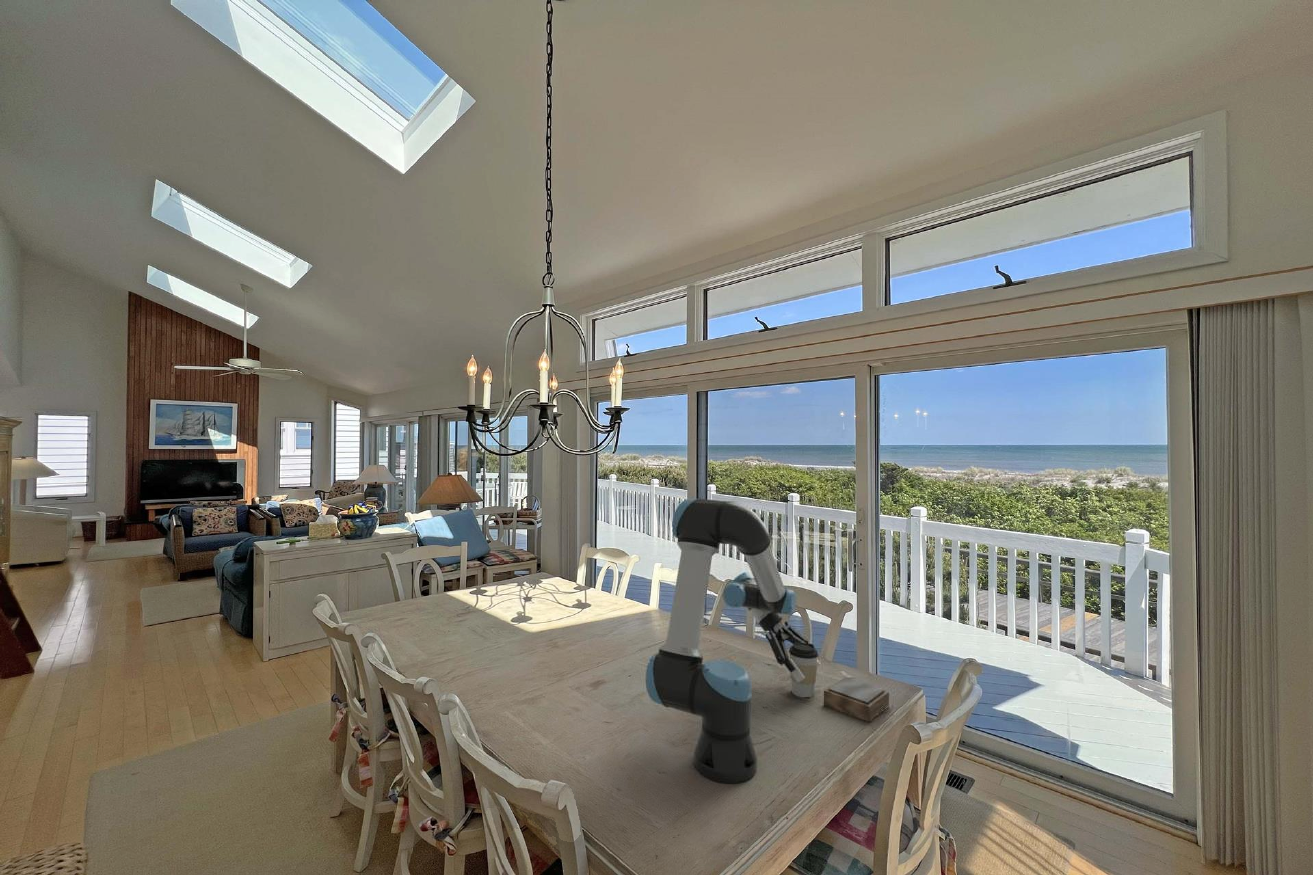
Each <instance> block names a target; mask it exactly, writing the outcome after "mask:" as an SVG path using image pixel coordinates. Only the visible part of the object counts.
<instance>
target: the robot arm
mask: <svg viewBox="0 0 1313 875" xmlns="http://www.w3.org/2000/svg"><path fill="white" fill-rule="evenodd" d="M671 522H672V523H671V528H672V534H673V536H674V537H675V538H676V539H677V542H676V545H677V546H678V547H679V549H680V551H681V552H680V557H679V563H678V569H677V576H676V582H675V587H674V594H673V600H672V606H671V611H670V617H669V624H668V627H667V628H668V630H667V634H666V635H667V636H666V641H665V642H664V643H663V644H662V645H660V646H659V650H658V652H657V653H655V654H653V655H652V656H651V657H650V659H649V662H648V663H647V666H646V670H645V687H646V688H645V689H646V692H647V694H648V696H649V698H650V699H651V700H652V701H653V702H654V703H657V704H659V705H662V706H663V707H665V708H671V709H675V710H678V711H680V712H681V711H682V712H684V713H687V714H691V715H695V716H698V717H701V731H700V734H699V737H698V740H697V743H696V745H695V748H694V752H693V753H694V754H693V764H694V767H695V769H696V771H697V772H698V773H699V774H700V775H701V776H703V777H705V778H706V779H708V780H711V781H714V782H717V783H722V784H723V783H724V784H738V783H743V782H746V781H748V780H750V779H751V778H753V777H754V775H756V773H757V770H758V769H757V768H758V764H757V763H758V758H757V754H756V751H755V750H756V749H755V746H754V743H753V740H752V736H751V708H752V707H751V706H752V705H751V704H752V702H751V700H752V687H751V682H752V681H751V677H750V674H749V673H748V672H747V671H746V669H745V668H744V667H743V666H741V665H739V664H737V663H735V662H733V661H731V660H726V659H716V658H715V659H710V660H707V661H706V662H705V663H704V664H703V662H704V661H703V660H704V655H703V653H702V652H701V650H700V641H701V633H702V628H703V627H702V626H703V622H704V621H703V620H704V614H705V606H706V602H707V601H706V600H707V596H708V595H707V593H708V586H709V581H710V580H709V579H710V574H711V568H712V562H713V561H712V560H713V556H714V555H715V554H717V553H718V552H719V550H720V544H721V545H722V544H723V545H731V546H734V547H737V550H738V551H739V552H740V553H741V554H742V555H744V558H745V560H746V562H747V565H748V566H749V567H748V568H749V570H750V571H751V574H752V576H751V574H750V573H748V572H742V573H740V574H739V575H737V576H736V577H734V578H733V580H732V581H731V582H730V583H729V584H727V585H726V586H725V587H724V589H723V592H722V598H723V602H725V603H726V605H727V606H728V607H731V608H736V609H737V608H740V607H741V608H746V609H747V610H748V611H749V613H751V615H752V617H754V619H755V620H756V621H758V625H759V626H760V627H761V629H762V630H763V631H764V632H765V633H766V632H767V633H766V634H765V635H764V636H765V638H766V639H767V641H768V642H769V644H770V647H771V650H772V652H773V654H774V657H775V660H776V661H777V664H779V665H781V666H783V665H785V667H786V668H787V670H788V671H789V673H790V672H791V674H792V675H793V677H794V678H795V679H796V681H797V682H800V681H801V680H802V679H804V678H805V677H804V675H803V674H802V672H801V671H800V670H799V668H798V667H797V666H796V664H795V663H794V662H793V660H792V659H790V656H789V654H788V653H789V652H788V651H787V646H786V643H785V642H786V641H788V642H789V643H791V644H792V645H793V644H795V643H807V644H810V643H809V640H808V639H806V637H804V636H803V635H802V634H801V633H800V632H799V631H797V630H796V629H795V628H794V627H793V626H792V625H791V624H790V623H789V622H788V621H785V622H782V620H783V616H782V614H783V615H792V614H794V612H795V610H796V606H797V595H796V592H795V591H794V590H793V589H789V588H786V587H785V585H784V583H783V580H782V577H781V574H780V572H779V568H778V565H777V564H776V560H775V558H774V555H773V552H772V550H771V546H770V545H771V539H772V538H771V535H770V532H769V529H768V528H767V526H766V525H765V523H764V522H763V520H762V519H761V518H760V516H758V515H757V513H755V512H754V511H753V510H752V509H750V508H749V507H748V506H746V505H745V504H742V503H740V502H736V501H732V500H718V499H717V500H716V499H706V498H686V499H684V500H683V501H681V502H680V503H679V504H678V506H676V509H675V511H674V513H673V516H672V521H671ZM821 664H822V663H821V662H820V661H819V659H818V658H817V667H818V666H820V665H821Z"/></svg>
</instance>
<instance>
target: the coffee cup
mask: <svg viewBox="0 0 1313 875" xmlns="http://www.w3.org/2000/svg"><path fill="white" fill-rule="evenodd" d="M788 653H789V660H790V659H792V660H793V662H794V663H795V664H796V666H797V667H798V668H799V670H800V671H801V672H802V674H803V675H804V677H805V678H804V679H802V680H801V681H800V682H797V681H796V679H795V678H794V677H793V675H792V674H791V672H790V671H789V673H790V680H791V681H790V682H791V692H792V694H793V695H795V696H796V697H799V698H803V697H810V698H812V696H813V695H815V688H816V687H815V686H816V682H817V680H816V679H817V670H818V666H817V659H818V657H819V652H818V650H817V649H816V648H815V645H814V644H813V643H809V644H807V643H795V644H792V646H790V648H789V651H788ZM813 697H814V696H813Z"/></svg>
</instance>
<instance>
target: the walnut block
mask: <svg viewBox="0 0 1313 875" xmlns="http://www.w3.org/2000/svg"><path fill="white" fill-rule="evenodd" d="M823 706H826V707H828V708H831V709H833V708H834V710H835V709H836V711H838V710H840V711H839V712H841V713H843V712H845V713H844V714H846V713H847V715H849V714H851V715H853V716H852V717H854V716H856V717H858V718H857V719H859V718H860V719H859V720H862V719H864V720H866V721H865V722H867V721H871V720H872V719H873V718H874V717H875V716H877V714H879V713H880V712H881V711H882V710H884V709H885V708H886V707H887V706H889V707H890V692H889V691H888V690H885V689H883V688H880V687H877V686H874V685H873V684H872V685H871V684H869V683H865V682H861V681H859V680H856V679H853V678H850V677H847V676H846V677H843V678H841V679H840V680H838V681H837V682H835V683H833V684H831V685H830V686H828V687H827V688H825V689H824V690H823ZM886 709H887V708H886ZM886 709H885V710H886ZM885 710H884V711H885ZM880 714H881V713H880ZM880 714H879V715H880ZM851 715H850V716H851ZM856 717H855V718H856ZM877 717H878V716H877ZM875 718H876V717H875ZM875 718H874V719H875ZM874 719H873V720H874ZM864 720H863V721H864ZM873 720H872V721H873ZM872 721H871V722H872Z"/></svg>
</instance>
